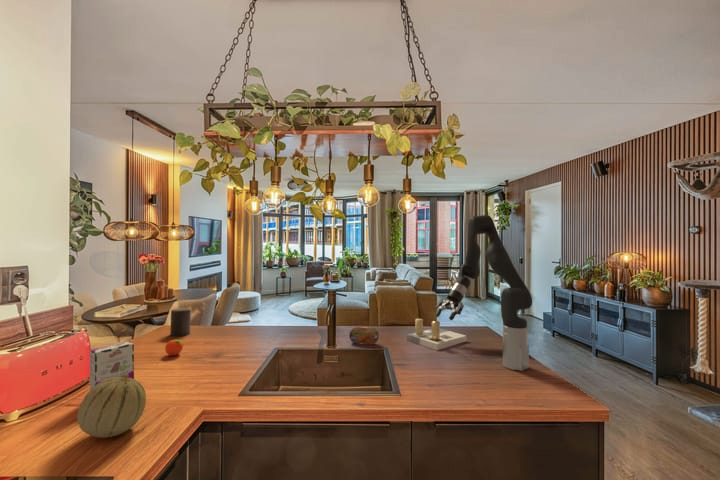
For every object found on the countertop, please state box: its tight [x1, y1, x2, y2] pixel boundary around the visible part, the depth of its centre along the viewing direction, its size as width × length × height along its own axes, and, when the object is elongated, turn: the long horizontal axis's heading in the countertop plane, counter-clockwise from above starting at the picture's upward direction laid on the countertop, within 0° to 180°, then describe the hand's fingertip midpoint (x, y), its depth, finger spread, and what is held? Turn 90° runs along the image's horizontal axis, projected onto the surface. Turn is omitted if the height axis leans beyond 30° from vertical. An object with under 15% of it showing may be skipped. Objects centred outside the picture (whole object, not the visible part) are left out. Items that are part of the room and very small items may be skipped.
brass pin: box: [431, 320, 441, 342], centre depth 165 cm, size 4×4×12 cm
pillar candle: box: [169, 307, 192, 337], centre depth 181 cm, size 10×10×15 cm
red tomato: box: [164, 339, 184, 356], centre depth 148 cm, size 8×7×7 cm
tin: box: [348, 326, 380, 346], centre depth 168 cm, size 15×3×8 cm, turn 80°
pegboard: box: [406, 318, 467, 351], centre depth 174 cm, size 20×24×11 cm
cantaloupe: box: [77, 374, 147, 439], centre depth 88 cm, size 15×15×15 cm
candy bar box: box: [89, 341, 135, 391], centre depth 109 cm, size 11×5×16 cm, turn 148°
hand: (443, 317), depth 169 cm, fingers open, 8 cm apart
